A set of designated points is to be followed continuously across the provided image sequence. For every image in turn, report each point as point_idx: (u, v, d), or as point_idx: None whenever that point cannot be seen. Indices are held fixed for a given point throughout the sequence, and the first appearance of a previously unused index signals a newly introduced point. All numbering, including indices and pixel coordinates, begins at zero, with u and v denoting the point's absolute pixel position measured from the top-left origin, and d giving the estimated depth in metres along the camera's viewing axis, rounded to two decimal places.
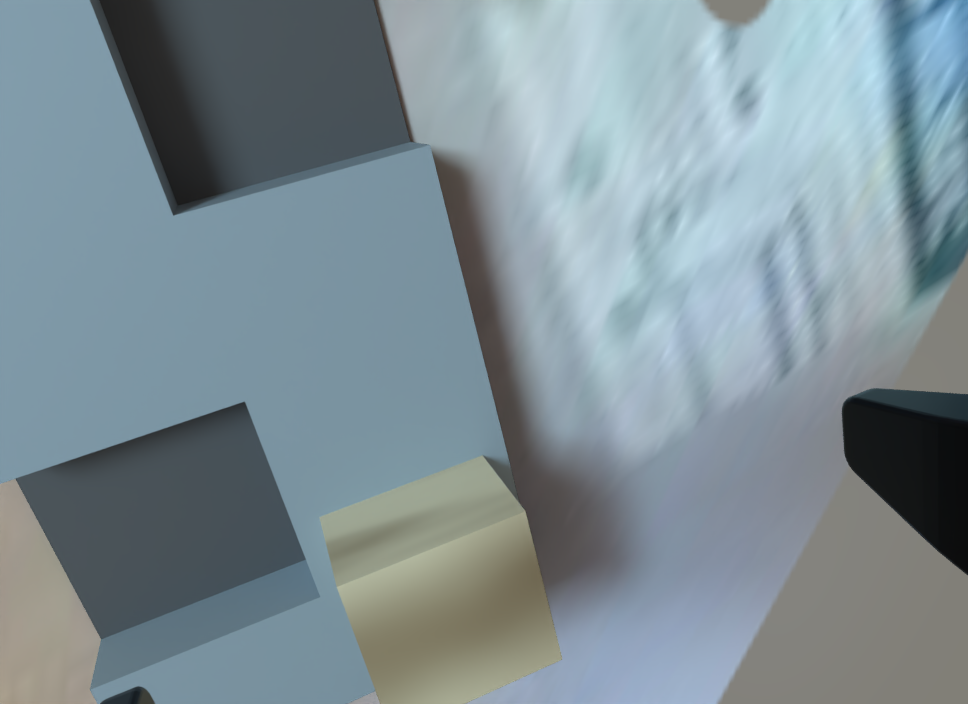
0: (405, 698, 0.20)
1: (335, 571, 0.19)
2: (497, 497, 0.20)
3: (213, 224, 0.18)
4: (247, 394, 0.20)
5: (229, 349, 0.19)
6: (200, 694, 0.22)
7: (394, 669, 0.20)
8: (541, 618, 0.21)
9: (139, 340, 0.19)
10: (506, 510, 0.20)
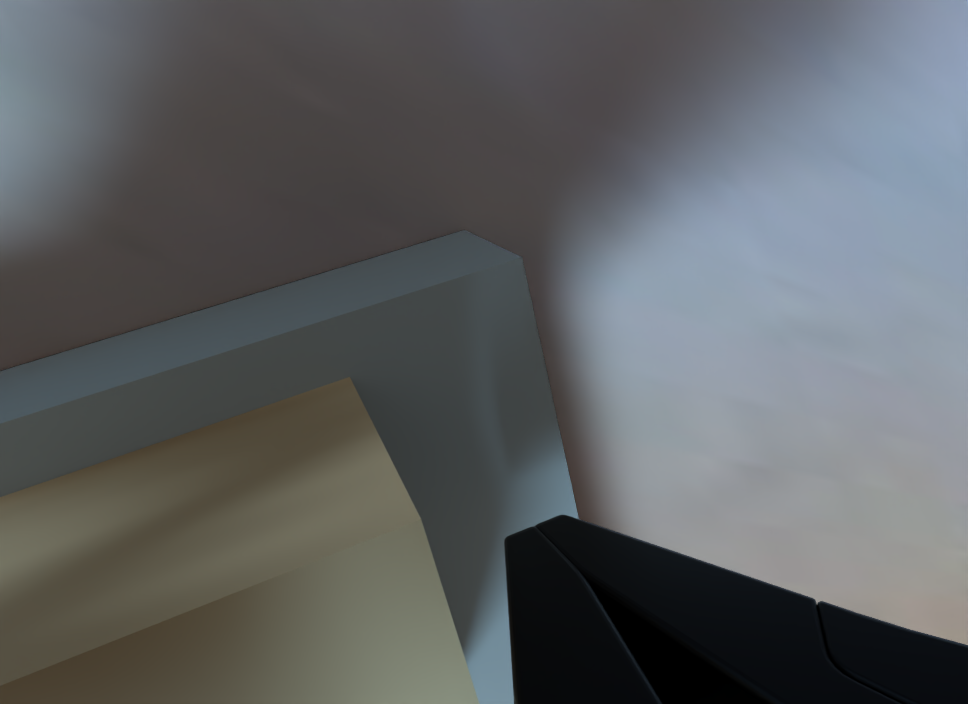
0: None
1: None
2: None
3: None
4: None
5: None
6: None
7: None
8: (224, 633, 0.06)
9: None
10: None
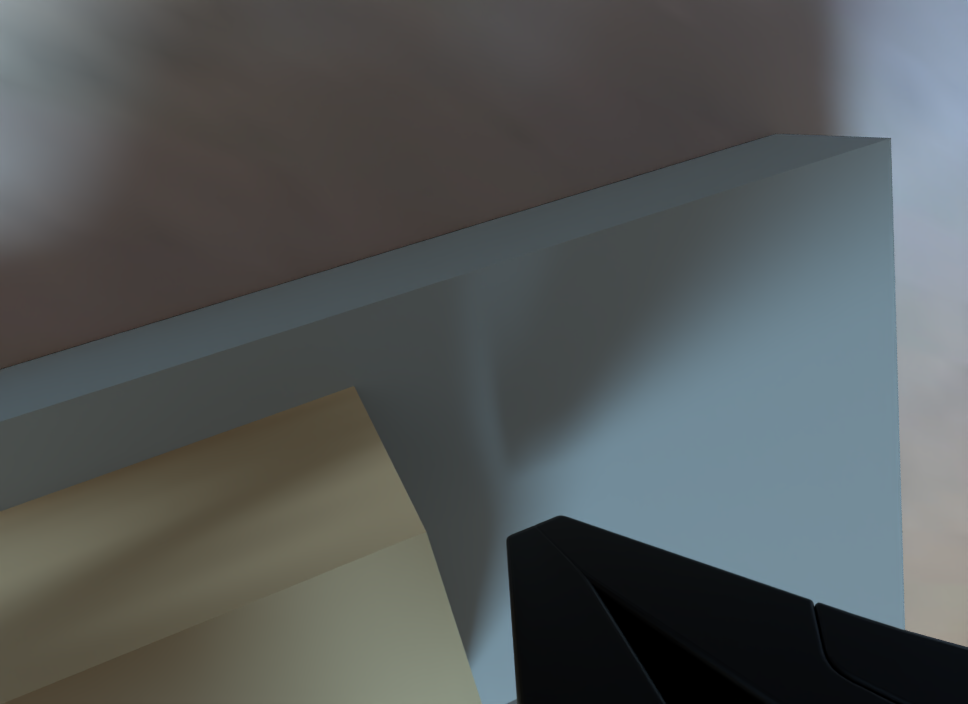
0: None
1: None
2: None
3: None
4: None
5: None
6: None
7: None
8: (233, 645, 0.06)
9: None
10: None
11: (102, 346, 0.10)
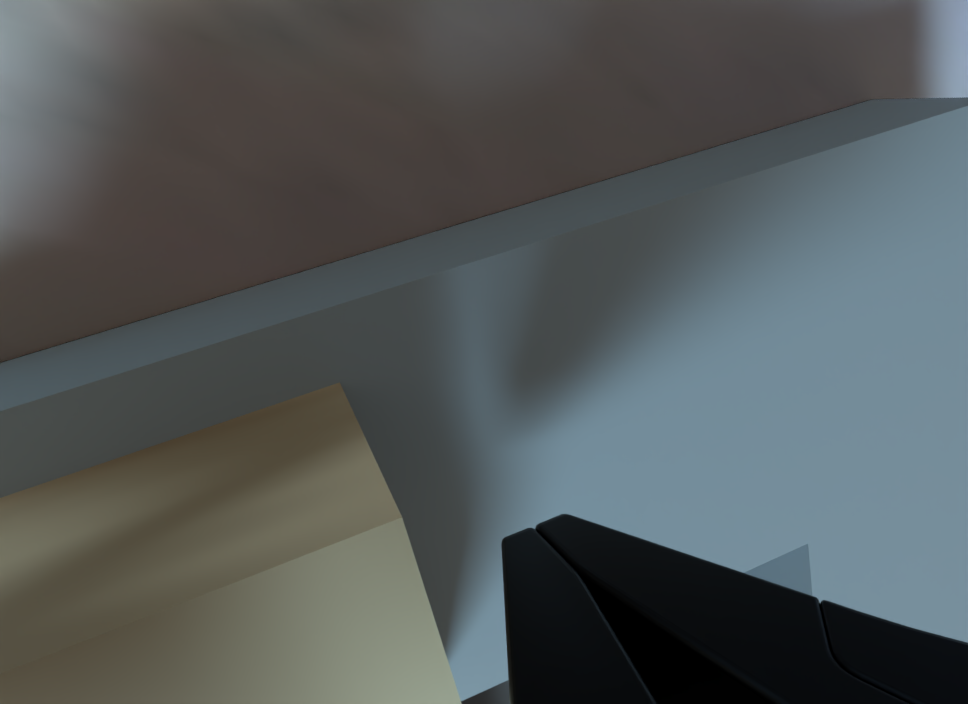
0: None
1: None
2: None
3: None
4: None
5: None
6: None
7: None
8: (218, 622, 0.06)
9: None
10: None
11: (281, 285, 0.11)
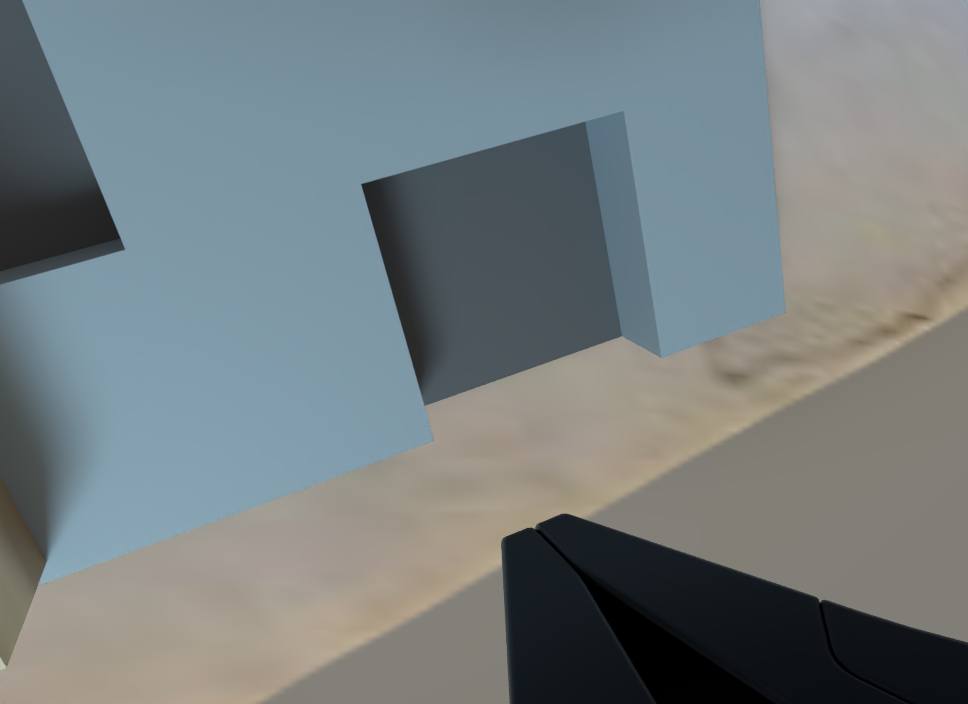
0: None
1: None
2: None
3: (132, 206, 0.15)
4: (352, 180, 0.16)
5: (294, 197, 0.16)
6: (700, 254, 0.20)
7: None
8: None
9: (281, 293, 0.17)
10: None
11: None
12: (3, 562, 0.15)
